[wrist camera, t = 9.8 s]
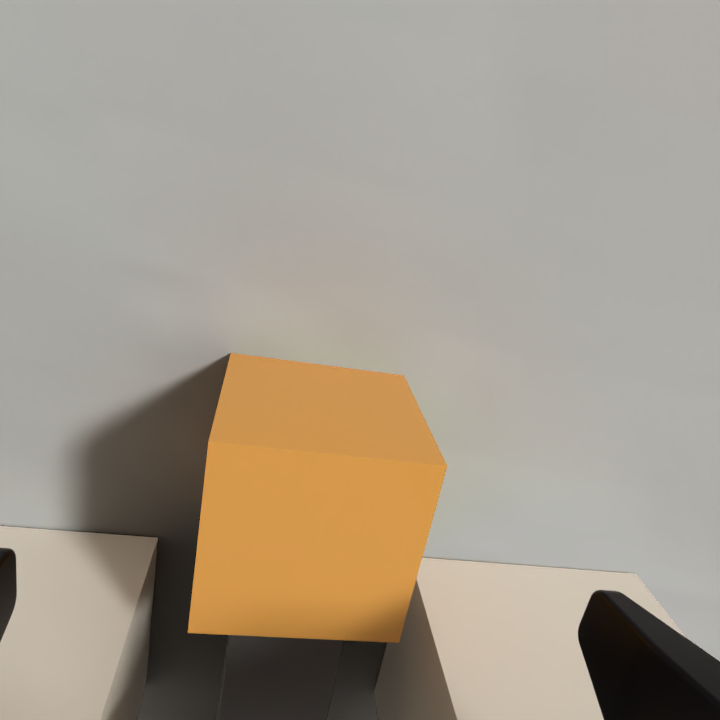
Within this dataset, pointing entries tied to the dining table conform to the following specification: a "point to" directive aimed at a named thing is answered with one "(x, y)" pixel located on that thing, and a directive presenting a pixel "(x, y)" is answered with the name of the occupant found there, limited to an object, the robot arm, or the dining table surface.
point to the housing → (399, 665)
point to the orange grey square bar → (308, 527)
